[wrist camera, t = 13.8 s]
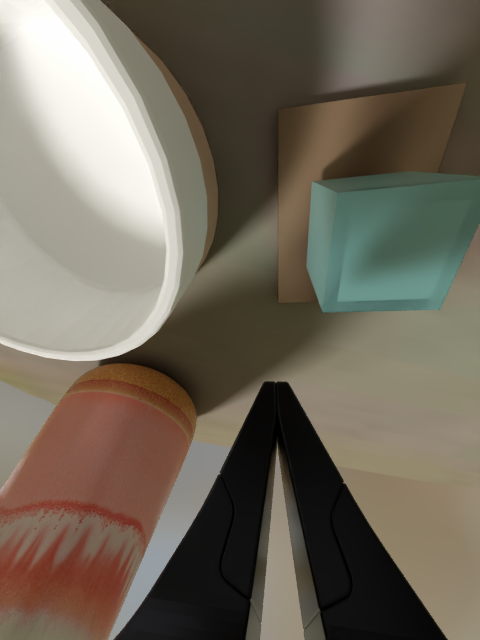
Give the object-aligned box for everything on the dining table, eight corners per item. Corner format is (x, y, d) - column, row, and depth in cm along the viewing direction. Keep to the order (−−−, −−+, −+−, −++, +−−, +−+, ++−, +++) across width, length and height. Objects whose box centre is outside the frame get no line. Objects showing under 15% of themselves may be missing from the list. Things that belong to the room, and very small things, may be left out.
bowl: (227, 300, 20) (206, 369, 14) (51, 296, 22) (-46, 356, 15) (204, -21, 11) (92, -341, 4) (-106, 16, 13) (-557, -158, 6)
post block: (456, 86, 12) (634, 15, 6) (391, 294, 18) (447, 354, 13) (278, 111, 13) (285, 72, 7) (278, 298, 20) (282, 354, 14)
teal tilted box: (409, 171, 13) (500, 177, 8) (385, 262, 16) (440, 309, 11) (311, 181, 13) (337, 192, 8) (306, 266, 16) (322, 312, 11)
